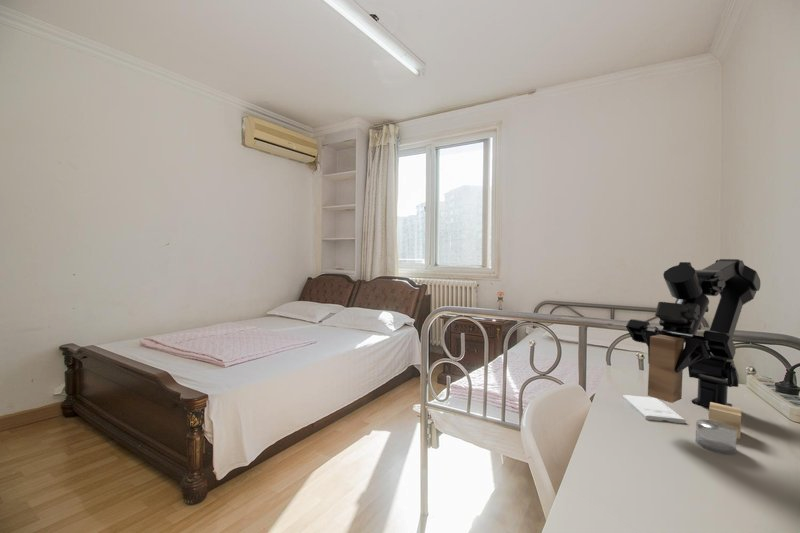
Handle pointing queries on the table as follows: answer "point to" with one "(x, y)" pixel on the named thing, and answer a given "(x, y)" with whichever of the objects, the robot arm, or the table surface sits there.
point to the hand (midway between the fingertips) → (662, 367)
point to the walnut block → (665, 368)
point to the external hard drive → (653, 409)
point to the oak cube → (726, 416)
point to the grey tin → (716, 437)
